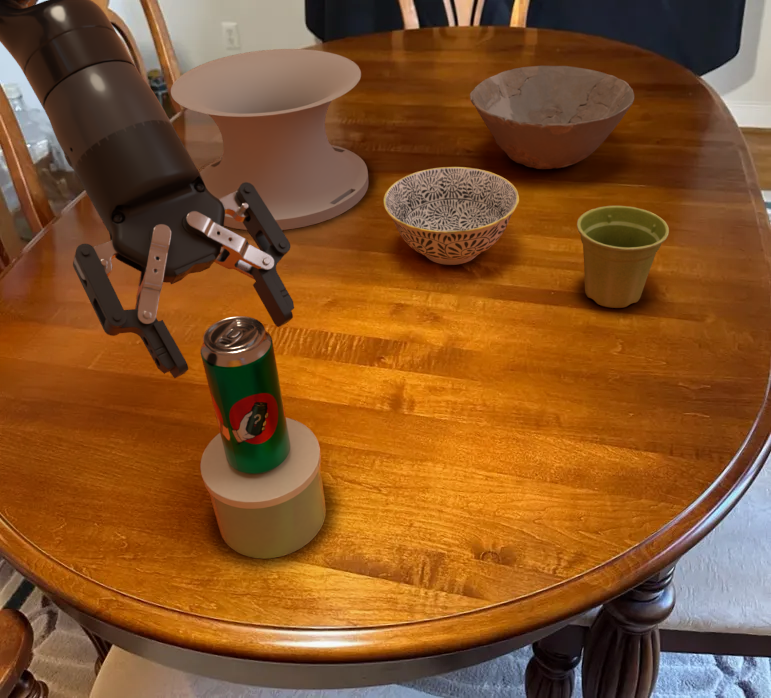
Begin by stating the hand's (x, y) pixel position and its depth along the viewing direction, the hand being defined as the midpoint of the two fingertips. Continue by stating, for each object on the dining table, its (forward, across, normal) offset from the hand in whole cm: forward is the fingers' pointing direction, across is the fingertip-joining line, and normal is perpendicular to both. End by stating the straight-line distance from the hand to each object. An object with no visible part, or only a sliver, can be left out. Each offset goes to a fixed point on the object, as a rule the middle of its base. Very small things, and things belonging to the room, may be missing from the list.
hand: (236, 347), depth 56 cm
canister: (+13, 0, +13) cm, 18 cm away
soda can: (+8, 0, +8) cm, 11 cm away
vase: (-22, +35, +48) cm, 64 cm away
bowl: (-1, +40, +27) cm, 48 cm away
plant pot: (+12, +47, +13) cm, 50 cm away
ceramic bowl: (-8, +69, +33) cm, 77 cm away
